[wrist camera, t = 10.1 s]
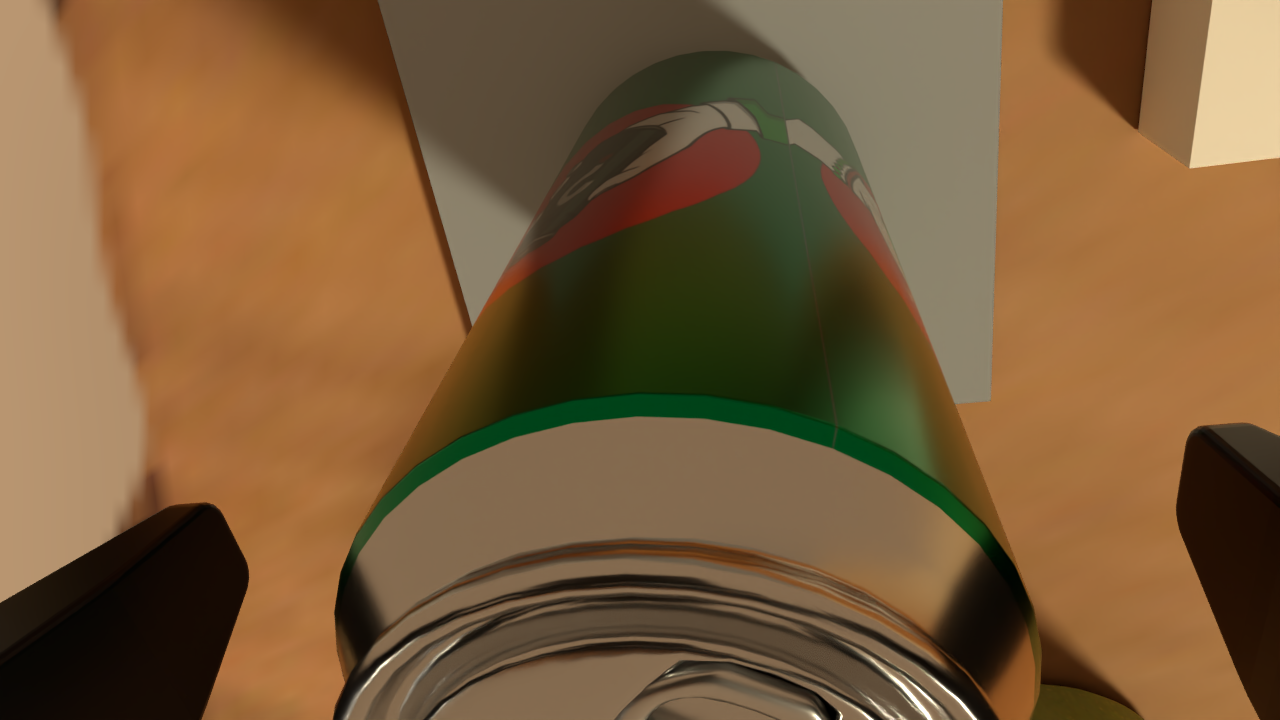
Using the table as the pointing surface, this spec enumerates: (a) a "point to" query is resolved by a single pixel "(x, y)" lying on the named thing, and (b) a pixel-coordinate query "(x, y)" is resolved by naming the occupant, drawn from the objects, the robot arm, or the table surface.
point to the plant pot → (1078, 705)
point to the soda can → (692, 453)
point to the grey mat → (739, 22)
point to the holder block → (1213, 80)
